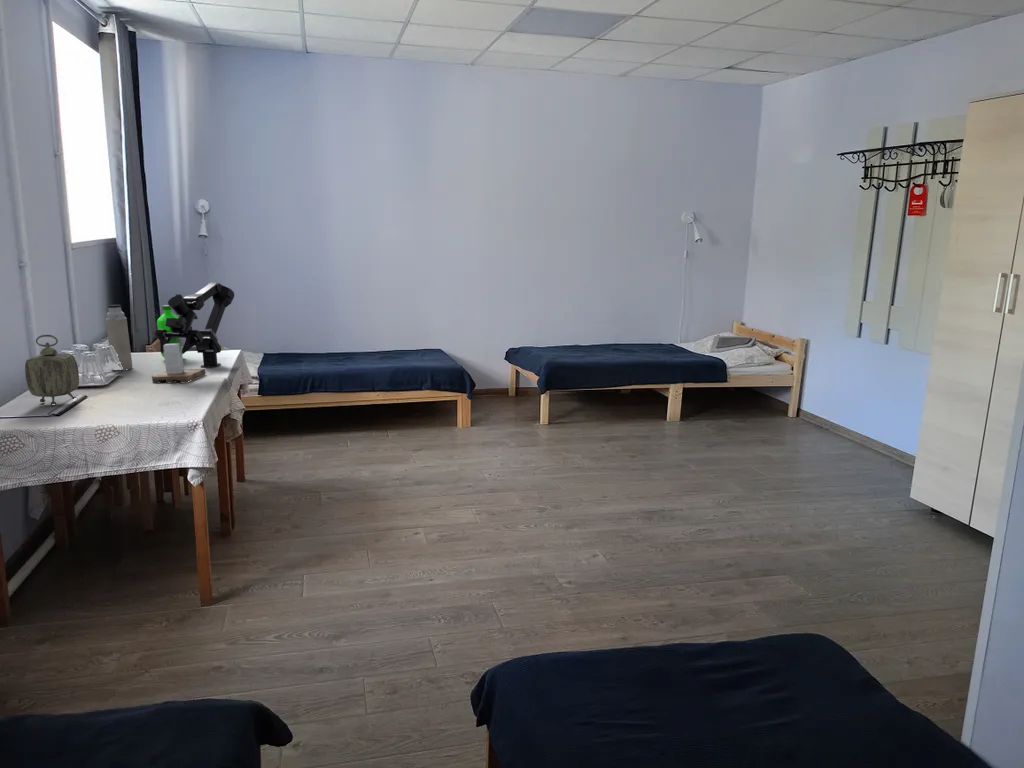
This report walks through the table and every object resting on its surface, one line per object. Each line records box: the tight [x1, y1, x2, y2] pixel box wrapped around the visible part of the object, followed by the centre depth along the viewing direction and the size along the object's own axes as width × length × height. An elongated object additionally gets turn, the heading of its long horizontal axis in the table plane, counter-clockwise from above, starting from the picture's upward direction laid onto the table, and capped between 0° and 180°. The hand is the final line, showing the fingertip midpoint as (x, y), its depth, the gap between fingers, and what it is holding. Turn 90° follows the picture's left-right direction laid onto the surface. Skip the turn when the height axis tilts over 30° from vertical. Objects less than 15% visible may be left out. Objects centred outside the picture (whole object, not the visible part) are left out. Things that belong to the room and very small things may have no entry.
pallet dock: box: [151, 367, 206, 383], centre depth 304 cm, size 16×14×2 cm
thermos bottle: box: [105, 304, 134, 371], centre depth 321 cm, size 8×8×28 cm
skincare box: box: [163, 342, 185, 374], centre depth 302 cm, size 6×4×12 cm
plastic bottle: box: [156, 304, 184, 359], centre depth 341 cm, size 10×10×25 cm
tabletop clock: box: [24, 334, 80, 406], centre depth 262 cm, size 14×9×25 cm, turn 100°
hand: (172, 352), depth 300 cm, fingers open, 9 cm apart
